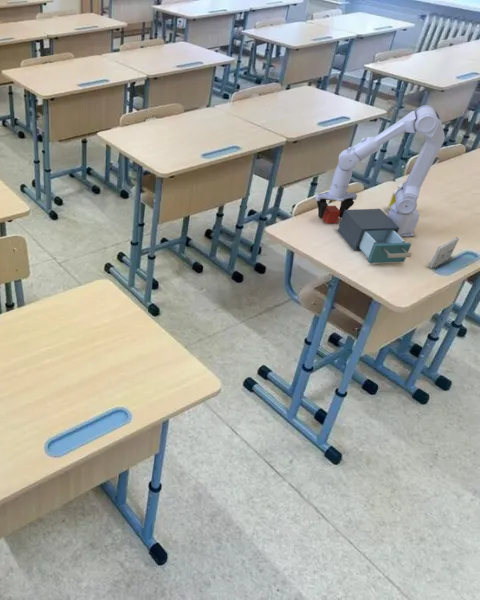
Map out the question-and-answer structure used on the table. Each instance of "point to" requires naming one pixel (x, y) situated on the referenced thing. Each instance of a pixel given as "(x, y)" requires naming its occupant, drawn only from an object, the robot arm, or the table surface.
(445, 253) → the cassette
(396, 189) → the pill bottle
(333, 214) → the red block
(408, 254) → the teal drawer
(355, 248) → the grey drawer cabinet
